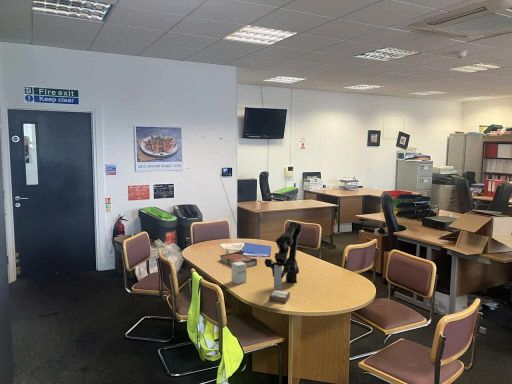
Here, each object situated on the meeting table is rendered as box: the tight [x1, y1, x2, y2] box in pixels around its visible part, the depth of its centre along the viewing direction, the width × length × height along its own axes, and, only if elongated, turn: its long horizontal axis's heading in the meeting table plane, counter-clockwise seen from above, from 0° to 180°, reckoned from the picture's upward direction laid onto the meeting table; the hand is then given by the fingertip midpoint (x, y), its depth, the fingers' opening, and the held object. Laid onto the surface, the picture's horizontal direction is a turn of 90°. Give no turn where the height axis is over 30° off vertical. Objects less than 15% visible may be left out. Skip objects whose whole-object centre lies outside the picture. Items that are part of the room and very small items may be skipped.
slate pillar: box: [273, 265, 283, 290], centre depth 233 cm, size 5×5×12 cm
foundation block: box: [268, 289, 291, 304], centre depth 234 cm, size 10×10×3 cm
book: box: [219, 251, 258, 268], centre depth 305 cm, size 26×18×5 cm
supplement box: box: [231, 261, 247, 285], centre depth 262 cm, size 7×7×13 cm
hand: (277, 277), depth 232 cm, fingers closed on slate pillar, 5 cm apart
